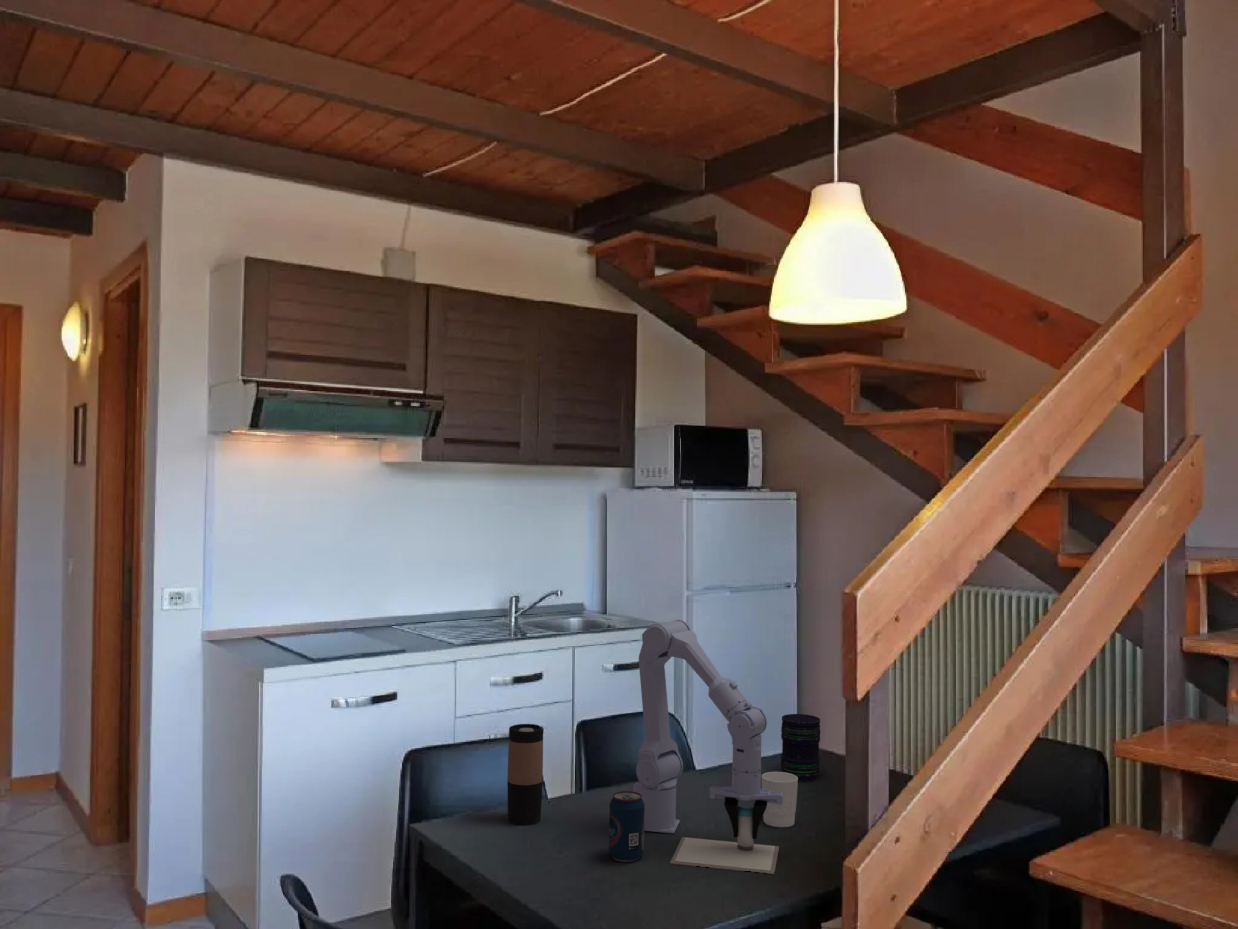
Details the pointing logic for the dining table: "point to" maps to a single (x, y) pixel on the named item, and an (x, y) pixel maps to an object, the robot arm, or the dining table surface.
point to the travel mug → (525, 774)
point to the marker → (745, 827)
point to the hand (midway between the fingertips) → (745, 836)
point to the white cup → (788, 787)
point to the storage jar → (801, 746)
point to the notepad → (725, 855)
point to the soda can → (626, 826)
